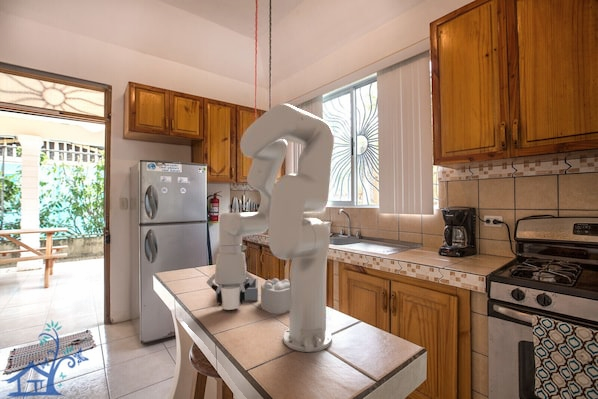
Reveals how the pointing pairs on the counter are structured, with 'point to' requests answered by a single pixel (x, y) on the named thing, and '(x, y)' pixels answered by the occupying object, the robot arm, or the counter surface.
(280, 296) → the lumpy-topped squat cylinder
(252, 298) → the bin
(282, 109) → the robot arm
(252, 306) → the counter surface
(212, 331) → the counter surface
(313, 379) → the counter surface
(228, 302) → the white cylinder
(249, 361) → the counter surface
